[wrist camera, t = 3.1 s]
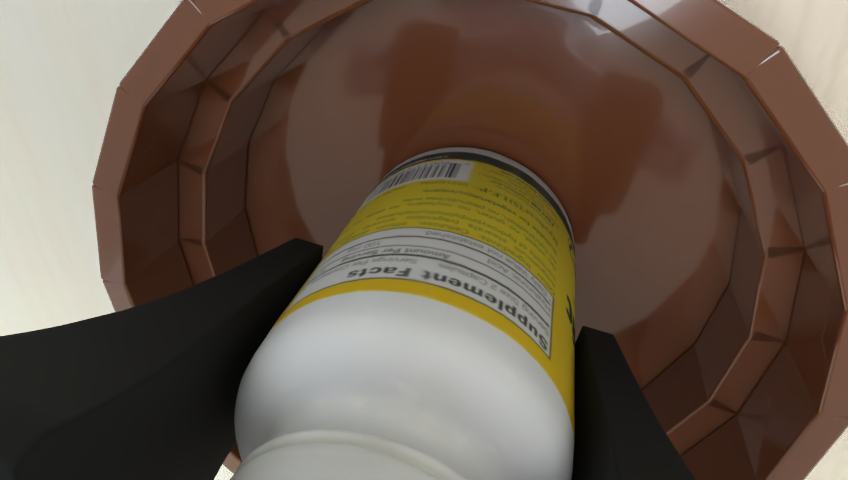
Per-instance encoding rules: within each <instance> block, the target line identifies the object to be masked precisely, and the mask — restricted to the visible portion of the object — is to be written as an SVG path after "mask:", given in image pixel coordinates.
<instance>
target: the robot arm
mask: <svg viewBox="0 0 848 480" xmlns="http://www.w3.org/2000/svg"><path fill="white" fill-rule="evenodd" d="M322 254H323V246H322V245H319V244H315V243H312V242H309V241H305V240H302V239H299V238H294V239H292V240H290V241H288V242H286V243H283V244H281V245H279V246H277V247H275V248H273V249H271V250H269V251H267V252H265V253H263V254H261V255H259V256H257V257H255V258H253V259H251V260H249V261H247V262H245V263H243V264H241V265H239V266H237V267H234V268H232V269H230V270H228V271H226V272H224V273H222V274H219V275H217V276H215V277H212V278H210V279H207V280H205V281H203V282H200V283H198V284H195V285H193V286H191V287H188V288H186V289H183V290H181V291H179V292H176V293H173V294H171V295H168V296H165V297H162V298H160V299H157V300H154V301H151V302H148V303H144V304H141V305H138V306H135V307H132V308H129V309H125V310H122V311H118V312H115V313H111V314H107V315H103V316H99V317H95V318H91V319H86V320H82V321H78V322H74V323H70V324H66V325H62V326H57V327H52V328H47V329H41V330H36V331H31V332H25V333H19V334H13V335H6V336H0V480H214V478H215V476H216V474H217V473H218V471H219V469H220V467H221V465H222V464H223V462H224V461H225V459H226V457H227V456H228V454H229V453H230V451H231V450H232V448H233V447H234V445H235V443H236V442H237V441H236V436H235V423H234V414H235V405H236V398H237V393H238V389H239V385H240V382H241V379H242V377H243V374H244V372H245V370H246V368H247V366H248V365H249V363H250V361H251V359H252V357H253V356H254V354H255V352H256V351H257V350H258V348H259V347H260V345H261V344H262V342H263V341H264V339H265V338H266V336H267V335H268V333H269V331H270V330H271V328H272V327H273V326H274V324H275V323H276V321H277V320H278V318H279V317H280V316H281V314H282V313H283V312H284V311H285V309H286V308H287V307H288V305H289V304H290V303H291V301H292V300H293V298H294V297H295V296H296V294H297V293H298V292H299V290H300V289H301V288H302V286H303V285H304V284H305V282H306V281H307V280H308V278H309V277H310V276H311V274H312V273H313V271H314V270H315V269H316V267H317V266H318V265H319V263H320V262H321V261H322ZM571 480H697V479H696V478H695V477H694V475H693V474H692V472H691V471H690V469H689V468H688V467H687V465H686V464H685V462H684V461H683V459H682V458H681V456H680V455H679V453H678V451H677V450H676V448H675V447H674V445H673V444H672V442H671V440H670V439H669V437H668V436H667V434H666V433H665V431H664V429H663V428H662V426H661V424H660V422H659V421H658V419H657V417H656V415H655V414H654V412H653V410H652V408H651V406H650V405H649V403H648V401H647V399H646V397H645V396H644V394H643V392H642V390H641V388H640V386H639V384H638V382H637V380H636V378H635V376H634V374H633V372H632V370H631V368H630V366H629V364H628V362H627V360H626V358H625V356H624V354H623V352H622V350H621V348H620V346H619V344H618V342H617V341H616V339H615V337H614V335H613V334H610V333H606V332H603V331H600V330H597V329H593V328H590V327H587V326H584V325H583V326H582V328H581V331H580V333H579V335H578V338H577V340H576V342H575V439H574V455H573V470H572V478H571Z"/></svg>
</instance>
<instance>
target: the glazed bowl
mask: <svg viewBox="0 0 848 480" xmlns="http://www.w3.org/2000/svg"><path fill="white" fill-rule="evenodd" d="M449 147H470V148H477V149H483V150H487V151H491V152H494V153H497V154H500V155H502V156H505V157H507V158H510V159H512V160H514V161H516V162H517V163H519V164H521V165H523V166H524V167H526V168H528V169H529V170H530V171H531V172H533V173H534V174H535V175H536V176H538V177H539V178H540V179H541V180H542V181H543V182H544V183H545V184H546V185H547V186H548V187H549V188H550V189H551V191H552V192H553V193H554V195H555V196H556V197H557V198H558V200H559V202H560V203H561V205H562V207H563V208H564V210H565V212H566V215H567V217H568V220H569V223H570V225H571V229H572V233H573V239H574V247H575V275H576V277H575V342H576V340H577V338H578V335H579V333H580V331H581V328H582V326H583V325H584V326H587V327H590V328H593V329H597V330H600V331H603V332H606V333H610V334H613V335H614V337H615V339H616V341H617V342H618V344H619V346H620V348H621V350H622V352H623V354H624V356H625V358H626V360H627V362H628V364H629V366H630V368H631V370H632V372H633V374H634V376H635V378H636V380H637V382H638V384H639V386H640V388H641V390H642V392H643V394H644V396H645V397H646V399H647V401H648V403H649V405H650V406H651V408H652V410H653V412H654V414H655V415H656V417H657V419H658V421H659V422H660V424H661V426H662V428H663V429H664V431H665V433H666V434H667V436H668V437H669V439H670V440H671V442H672V444H673V445H674V447H675V448H676V450H677V451H678V453H679V455H680V456H681V458H682V459H683V461H684V462H685V464H686V465H687V467H688V468H689V469H690V471H691V472H692V474H693V475H694V477H695V478H696V479H697V480H804V479H805V478H806V477H807V476H808V474H809V473H810V472H811V471H812V470H813V468H814V467H815V466H816V465H817V464H818V462H819V461H820V460H821V459H822V458H823V456H824V455H825V454H826V453H827V452H828V450H829V449H830V448H831V447H832V445H833V444H834V443H835V442H836V441H837V439H838V438H839V437H840V436H841V435H842V433H843V432H844V431H845V430H846V429H847V427H848V144H847V142H846V141H845V139H844V138H843V136H842V135H841V133H840V132H839V130H838V129H837V127H836V126H835V124H834V123H833V121H832V120H831V118H830V117H829V115H828V114H827V112H826V111H825V109H824V108H823V106H822V104H821V103H820V101H819V100H818V98H817V97H816V95H815V94H814V92H813V91H812V89H811V88H810V86H809V85H808V83H807V82H806V80H805V79H804V77H803V76H802V74H801V73H800V71H799V70H798V68H797V67H796V65H795V64H794V62H793V61H792V59H791V58H790V56H789V55H788V53H787V51H786V50H785V48H784V47H782V46H781V45H780V44H779V42H778V41H777V40H776V39H774V38H773V37H772V36H770V35H769V34H767V33H766V32H764V31H763V30H762V29H760V28H759V27H757V26H756V25H754V24H753V23H752V22H750V21H749V20H747V19H746V18H744V17H743V16H742V15H740V14H739V13H737V12H736V11H734V10H733V9H732V8H730V7H729V6H727V5H726V4H724V3H723V2H722V1H720V0H182V2H181V3H180V4H179V6H178V7H177V8H176V10H175V11H174V12H173V14H172V15H171V16H170V18H169V19H168V20H167V21H166V23H165V24H164V25H163V27H162V28H161V29H160V31H159V32H158V33H157V35H156V36H155V37H154V39H153V40H152V41H151V43H150V44H149V45H148V47H147V48H146V49H145V50H144V52H143V53H142V54H141V56H140V57H139V58H138V60H137V61H136V62H135V64H134V65H133V66H132V68H131V69H130V70H129V72H128V73H127V74H126V76H125V77H124V78H123V79H122V81H121V82H120V86H119V87H118V88H117V90H116V94H115V98H114V102H113V106H112V110H111V113H110V117H109V121H108V125H107V129H106V133H105V137H104V141H103V144H102V148H101V152H100V156H99V160H98V164H97V168H96V172H95V176H94V179H93V186H92V191H93V201H94V211H95V221H96V231H97V241H98V251H99V261H100V271H101V278H102V279H103V283H104V286H105V288H106V290H107V293H108V295H109V298H110V300H111V302H112V305H113V307H114V310H115V312H118V311H122V310H125V309H129V308H132V307H135V306H138V305H141V304H144V303H148V302H151V301H154V300H157V299H160V298H162V297H165V296H168V295H171V294H173V293H176V292H179V291H181V290H183V289H186V288H188V287H191V286H193V285H195V284H198V283H200V282H203V281H205V280H207V279H210V278H212V277H215V276H217V275H219V274H222V273H224V272H226V271H228V270H230V269H232V268H234V267H237V266H239V265H241V264H243V263H245V262H247V261H249V260H251V259H253V258H255V257H257V256H259V255H261V254H263V253H265V252H267V251H269V250H271V249H273V248H275V247H277V246H279V245H281V244H283V243H286V242H288V241H290V240H292V239H294V238H299V239H302V240H305V241H309V242H312V243H315V244H319V245H322V246H323V254H322V259H323V258H324V256H325V255H326V254H327V252H328V251H329V249H330V248H331V247H332V245H333V244H334V243H335V241H336V240H337V239H338V237H339V236H340V234H341V233H342V231H343V230H344V229H345V227H346V226H347V225H348V223H349V222H350V220H351V219H352V218H353V216H354V215H355V214H356V212H357V211H358V209H359V208H360V207H361V205H362V204H363V202H364V201H365V199H366V198H367V197H368V196H369V194H370V193H371V191H372V190H373V189H374V188H375V187H376V186H377V185H378V183H379V182H380V181H381V180H382V179H383V178H384V177H385V176H386V175H387V174H388V173H389V172H390V171H392V170H393V169H394V168H395V167H396V166H398V165H399V164H401V163H403V162H404V161H406V160H408V159H410V158H412V157H414V156H416V155H419V154H422V153H425V152H428V151H431V150H436V149H440V148H449ZM241 462H242V460H241V457H240V453H239V450H238V445H237V442H236V443H235V445H234V447H233V448H232V450H231V451H230V453H229V454H228V456H227V457H226V459H225V461H224V462H223V465H224V466H225V467H227V468H228V469H229V470H230V471H231V472H232V473H233V474H235V472H236V470H237V468H238V466H239V465H240V464H241Z"/></svg>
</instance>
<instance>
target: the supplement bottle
mask: <svg viewBox="0 0 848 480" xmlns="http://www.w3.org/2000/svg"><path fill="white" fill-rule="evenodd" d="M575 277H576V275H575V247H574V239H573V233H572V229H571V225H570V223H569V220H568V217H567V215H566V212H565V210H564V208H563V207H562V205H561V203H560V202H559V200H558V198H557V197H556V196H555V195H554V193H553V192H552V191H551V189H550V188H549V187H548V186H547V185H546V184H545V183H544V182H543V181H542V180H541V179H540V178H539V177H538V176H536V175H535V174H534V173H533V172H531V171H530V170H529V169H528V168H526V167H524V166H523V165H521V164H519V163H517V162H516V161H514V160H512V159H510V158H507V157H505V156H502V155H500V154H497V153H494V152H491V151H487V150H483V149H477V148H470V147H449V148H440V149H436V150H431V151H428V152H425V153H422V154H419V155H416V156H414V157H412V158H410V159H408V160H406V161H404V162H403V163H401V164H399V165H398V166H396V167H395V168H394V169H393V170H392V171H390V172H389V173H388V174H387V175H386V176H385V177H384V178H383V179H382V180H381V181H380V182H379V183H378V185H377V186H376V187H375V188H374V189H373V190H372V191H371V193H370V194H369V196H368V197H367V198H366V199H365V201H364V202H363V204H362V205H361V207H360V208H359V209H358V211H357V212H356V214H355V215H354V216H353V218H352V219H351V220H350V222H349V223H348V225H347V226H346V227H345V229H344V230H343V231H342V233H341V234H340V236H339V237H338V239H337V240H336V241H335V243H334V244H333V245H332V247H331V248H330V249H329V251H328V252H327V254H326V255H325V256H324V258H323V259H322V261H321V262H320V263H319V265H318V266H317V267H316V269H315V270H314V271H313V273H312V274H311V276H310V277H309V278H308V280H307V281H306V282H305V284H304V285H303V286H302V288H301V289H300V290H299V292H298V293H297V294H296V296H295V297H294V298H293V300H292V301H291V303H290V304H289V305H288V307H287V308H286V309H285V311H284V312H283V313H282V314H281V316H280V317H279V318H278V320H277V321H276V323H275V324H274V326H273V327H272V328H271V330H270V331H269V333H268V335H267V336H266V338H265V339H264V341H263V342H262V344H261V345H260V347H259V348H258V350H257V351H256V352H255V354H254V356H253V357H252V359H251V361H250V363H249V365H248V366H247V368H246V370H245V372H244V374H243V377H242V379H241V382H240V385H239V389H238V393H237V398H236V405H235V414H234V423H235V436H236V441H237V445H238V450H239V453H240V457H241V460H242V462H241V464H240V465H239V466H238V468H237V470H236V472H235V474H234V475H233V476H232V478H231V479H230V480H571V478H572V470H573V455H574V439H575Z"/></svg>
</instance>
